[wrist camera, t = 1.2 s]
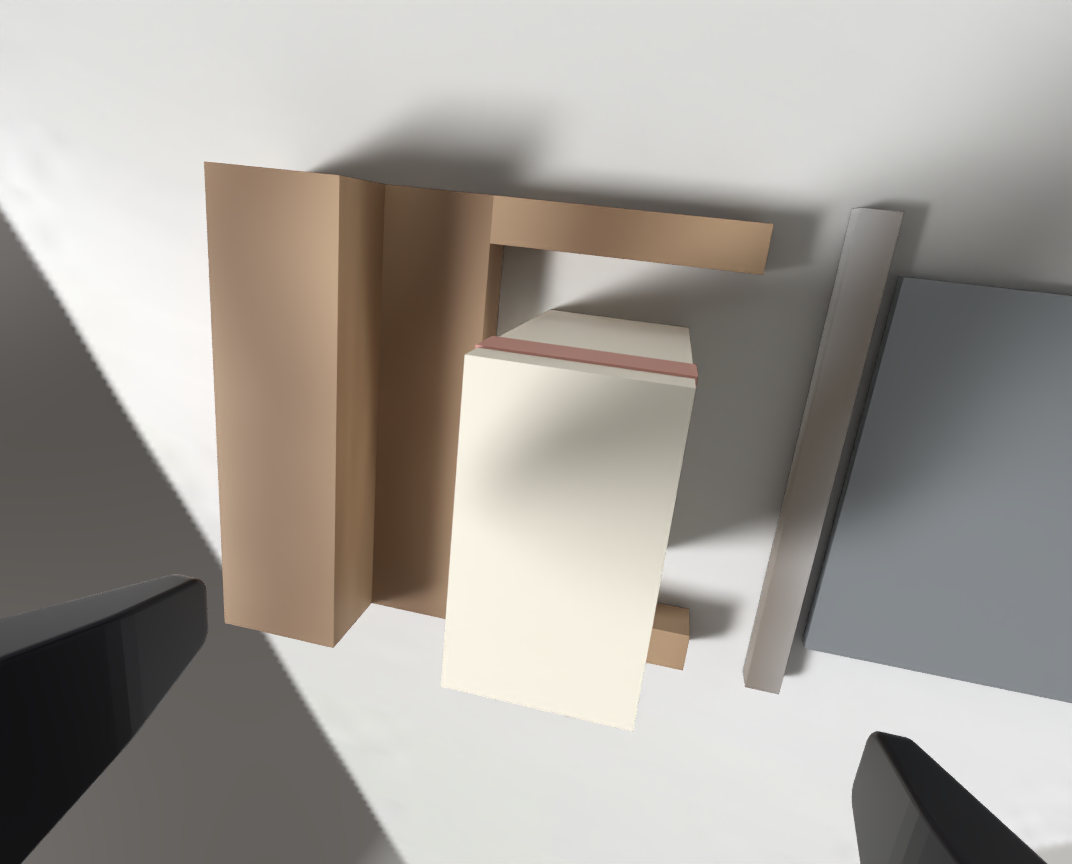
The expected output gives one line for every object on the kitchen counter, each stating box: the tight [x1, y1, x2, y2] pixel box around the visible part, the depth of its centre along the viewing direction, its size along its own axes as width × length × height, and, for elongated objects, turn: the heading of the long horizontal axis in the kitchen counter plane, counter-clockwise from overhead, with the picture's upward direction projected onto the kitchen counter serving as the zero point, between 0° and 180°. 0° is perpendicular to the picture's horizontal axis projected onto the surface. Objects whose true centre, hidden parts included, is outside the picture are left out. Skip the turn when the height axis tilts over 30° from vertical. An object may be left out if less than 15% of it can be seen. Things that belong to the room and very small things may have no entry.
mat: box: [802, 276, 1072, 703], centre depth 18 cm, size 8×11×1 cm
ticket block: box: [441, 310, 698, 732], centre depth 16 cm, size 4×7×8 cm, turn 174°
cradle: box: [204, 162, 904, 694], centre depth 18 cm, size 16×14×4 cm
